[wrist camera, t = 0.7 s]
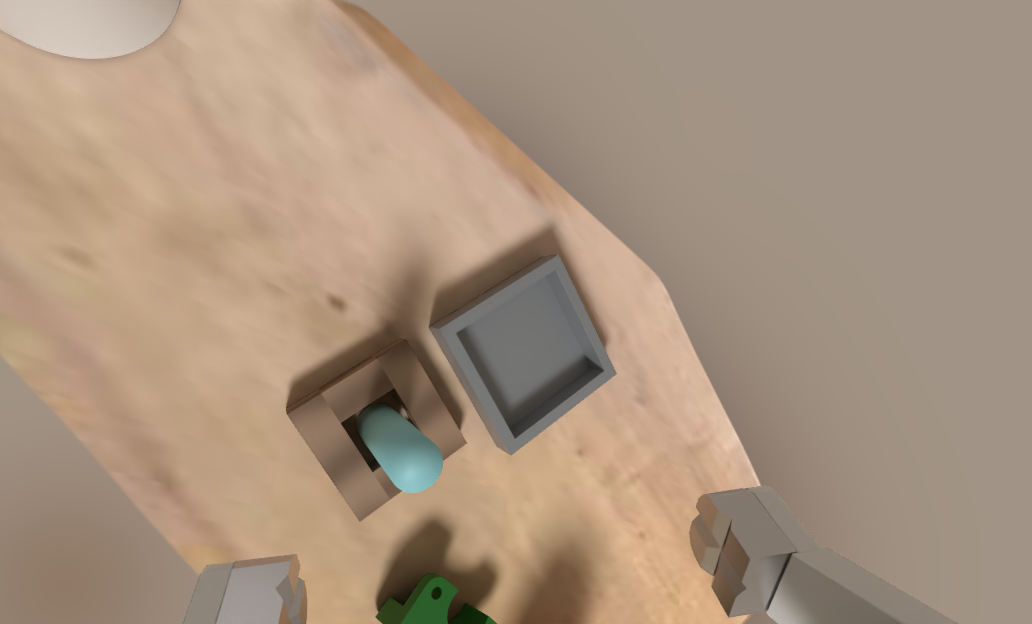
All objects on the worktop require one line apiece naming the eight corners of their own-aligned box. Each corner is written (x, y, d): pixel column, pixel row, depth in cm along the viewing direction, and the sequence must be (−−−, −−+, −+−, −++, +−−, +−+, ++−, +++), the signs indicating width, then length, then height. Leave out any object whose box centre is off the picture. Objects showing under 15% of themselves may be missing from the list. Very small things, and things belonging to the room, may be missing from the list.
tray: (428, 327, 53) (439, 329, 50) (542, 256, 59) (558, 254, 56) (497, 446, 57) (511, 455, 54) (598, 369, 62) (616, 373, 59)
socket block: (285, 409, 48) (286, 414, 46) (400, 338, 52) (406, 340, 50) (355, 511, 51) (359, 521, 48) (458, 437, 55) (467, 442, 53)
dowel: (348, 419, 50) (378, 460, 38) (385, 395, 52) (426, 427, 39) (370, 452, 51) (406, 504, 39) (406, 428, 53) (452, 470, 40)
